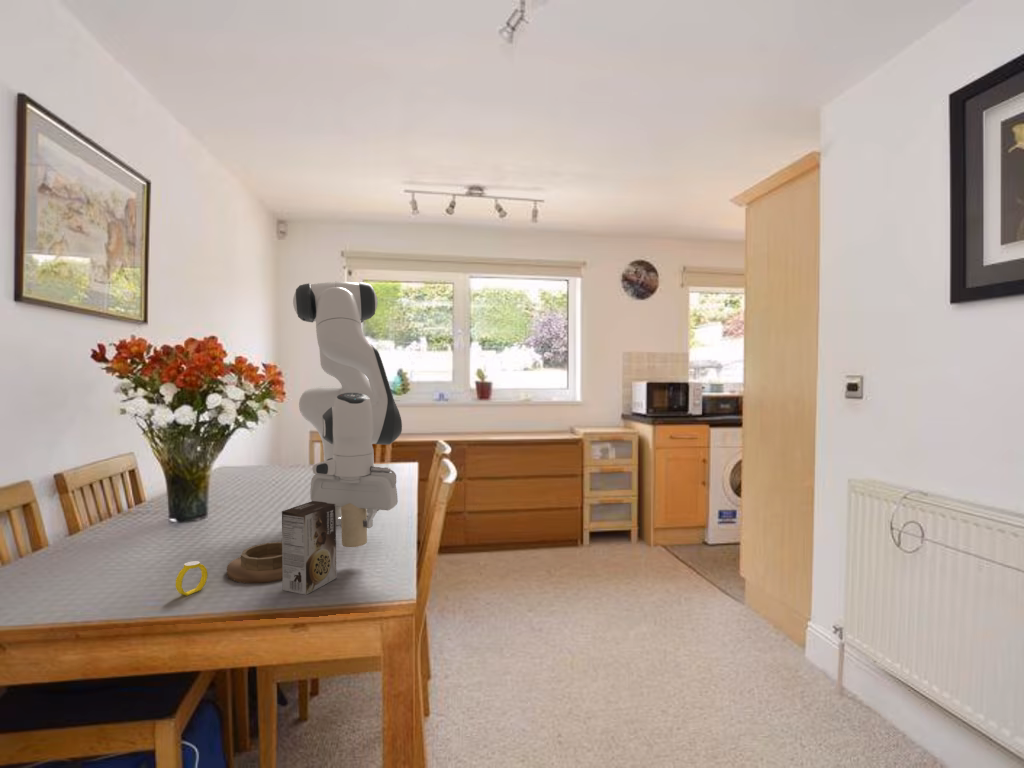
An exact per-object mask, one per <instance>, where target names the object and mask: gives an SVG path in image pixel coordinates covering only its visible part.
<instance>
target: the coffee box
mask: <svg viewBox="0 0 1024 768" xmlns="http://www.w3.org/2000/svg"><path fill="white" fill-rule="evenodd" d="M336 527H337V525H336V515H335V504H330V503H326V502H319V501H311V500H310V501H308V502H306V503H302V504H300V505H296V506H294V507H291V508H287V509H285V510H282V511H281V533H282V534H281V536H282V537H281V542H282V564H283V579H282V590H283V591H284V592H285V591H286V592H290V593H294V594H300V595H305V596H307V595H309V594H311V593H312V592H315V591H316V590H317V589H319V588H322V587H323V586H325V585H326V584H329V583H330V582H332V581H334V580H336V579H337V532H336V530H337V528H336Z"/></svg>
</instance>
